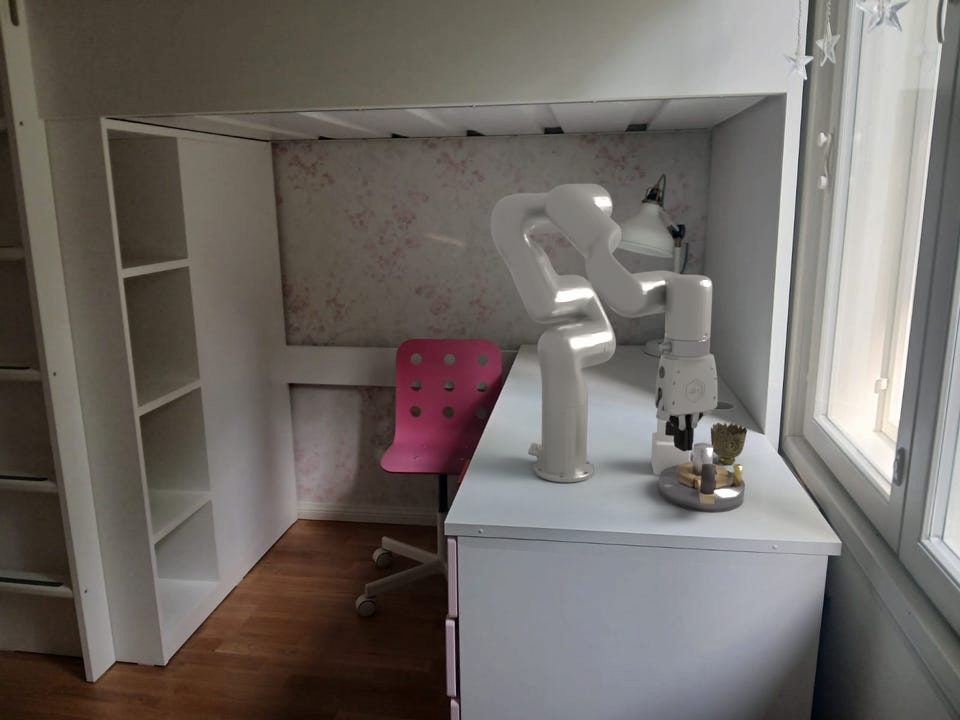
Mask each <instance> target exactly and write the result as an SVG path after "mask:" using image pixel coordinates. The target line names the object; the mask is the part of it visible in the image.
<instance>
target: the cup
mask: <svg viewBox="0 0 960 720" xmlns="http://www.w3.org/2000/svg"><path fill="white" fill-rule="evenodd" d="M747 433H748V429H747V427H743V425H738V424H736V423H735V424H733V423H732V422H731V423H730V424H729V425H728V424H727V423H726V422H724V423H723V424H722V423H720V422H717V423H716V424H715V423H713V424H712V427H710V441H711V445H712V446H713V447H714V448H713V453H715V455H716V456H717V462H718V463H720V464H723V465H726V466H727V465H734V464H735V462H736V458H738V457H739V456H740V455H741V454H742V452H743V450H744V446H745V440H746V437H747Z"/></svg>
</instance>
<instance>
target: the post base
mask: <svg viewBox="0 0 960 720" xmlns="http://www.w3.org/2000/svg"><path fill="white" fill-rule="evenodd" d="M713 448H714V447H713V446H712V443H711V444H710V443H707V442H705V443H704V442H697V443H695V444H694V443H693V456H692V461H693V469H692V474H694V475H696V476H701V472H702V465H703V464H712V463H713V459H714V451H713ZM676 466H678V465H676ZM676 466H672V467H669V468H666V469H664V470H663V471H662V472H661V473H660V475H658V476H659V478H658V494H659V496H660V497H661V498H662V499H663V500H664V501H666V502H667V503H669V504H671V505H674V506H676V507H678V508H680V509H681V508H682V509H685V510H688V511H695V512H700V513H723V512H729V511H733V510H736V509H738V508H739V507H740V506H742V505H743V503H744V501H745V489H746V485H745V481H744V480H743V477H742V475H743V465H742V464H741V463H740V464H739V463H733V469H732V470H733V471H729V470H727V472H728V475H729V478H728V484H727V485H725V486H722V487H719V488H717V489H715V488H714V495H715V500H714V504H705V503H700V499H699V494H698V489H697V488H695V486H693V487H690V486H688V485H686V484H683V483H681V482H679V481H678V480H677V478H676Z"/></svg>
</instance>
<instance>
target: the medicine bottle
mask: <svg viewBox="0 0 960 720" xmlns="http://www.w3.org/2000/svg"><path fill="white" fill-rule="evenodd" d="M656 419H657V420H656V421H657V422H656V432H652V438H651V439H652V440H651V459H650V463H651V467H652V471H653V475H654V476H659V475H660V473H661V472H662V471H663V470H664V469H666V468H669V467H672V466H676V465H679V464H682V463H685V462H688V461H689V462H691V451H688V450H687V451H684V452H683V451H681V450H680V449H678V448H676V447H675V446H674V426H672V425H671V423H670V422H669V421H662V420H660V419H658V418H656Z"/></svg>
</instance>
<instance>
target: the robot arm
mask: <svg viewBox="0 0 960 720" xmlns="http://www.w3.org/2000/svg"><path fill="white" fill-rule="evenodd" d="M613 206H614V205H613V200H612V197H611V194H610V193H609V192H608V190H607V189H606V188H604V187H603V186H601V185H600V184H597V183H565V184H561V185H557V186H555V187H553V188H552V189H551V190H550V191H548V192H523V193H521V192H519V193H513V194H509V195H507V196H505V197H503V198H500V200H498V202H496V204H495V206H494V207H493V209H492V212H491V217H490V233H491V237H492V240H493V244H494V245H495V248H496V251H498V254H499V255H500V257H501V258H502V260H503V261H504V263H505V265H506V266H507V268H508V270H509V272H510V275H511V277H512V279H513V282H514V284H515V287H516V289H517V291H518V294H519V296H520V299H521V300H522V303H523V305H524V308H525V309H526V311H527V313H528V316H529V317H530V318H531V320H533V322H535V323H538V324H541V325H543V324H545V325H546V324H547V325H548V324H552V323H559V322H565V321H568V322H569V323H565V324H559V325H556V326H552V327H550V328H549V329H547V330H546V331H545V332H543V333H542V334H541V336H540V337H539V339H538V341H537V349H536V351H537V357H538V362H539V367H540V368H539V369H540V375H541V377H540V378H541V443H540V444H539V443H536V442H532V443H531V444H530V446H529V448H528V451H527V452H528V455H529V456H533V457H534V456H535V457H536V458H537V460H536V461H535V462H534V464H533V472H534V473H535V475H536V476H538V477H539V478H542V479H544V480H545V481H546V480H547V481H550V482H554V483H555V482H556V483H576V482H582V481H585V480H588V479H589V478H590V477H592V476H593V475H594V465H593V463H591V462H590V461H588V459H587V455H588V454H587V453H588V452H587V450H588V419H589V416H588V415H589V414H588V413H589V412H588V411H589V389H588V385H587V382H586V380H585V378H584V376H583V374H582V369H585V368H588V367H593V366H595V365H600V364H603V363H606V362H608V361H609V360H610V359H611V358H612V357H613V355H614V354H615V352H616V346H617V341H616V333H615V332H614V329H613V326H612V324H611V322H610V320H609V318H608V316H607V313H606V311H605V308H604V307H603V305H602V303H601V300H602V301H603V302H604V303H605V304H606V305H607V306H608V307H609V308H610V309H611V310H612V311H614V312H615V313H616V314H618V315H620V316H622V317H624V318H633V319H634V318H639V317H644V316H645V317H646V316H648V315H656V314H661V313H665V317H664V318H665V321H664V323H665V325H664V338H663V342H662V343H658V350H659V351H660V352H663V354H661V356H660V360H659V363H658V369H657V374H656V381H655V394H654V395H655V397H654V401H655V402H654V403H655V404H654V406H655V408H656V409H657V411H656V415H655V417H656V419H660V420H662V421H669V422H670V423H671V425H672V426H674V446H675V447H676V448H678V449H680V450H681V451H683V452H684V451H687V450H688V451H690V452H691V451H693V446H694V434H695V433H694V432H695V429H696V428H697V427H698V423H699V422H700V420H701V419H702V418H703V417H706V416H709V415H710V414H712V413H713V410H715V409H716V408H717V406H718V392H719V391H718V373H717V367H716V361H715V355H714V354H712V353H710V350H711V332H712V330H711V329H712V328H711V327H712V308H713V282H712V280H711V278H710V277H708V276H706V275H703V274H702V275H700V274H682V273H677V272H674V271H669V270H652V271H643V272H636V273H631V272H629V271H628V270H627V269H626V268H625V267H624V266H623V265H622V264H621V263H620V262H619V261H618V259H617V258H616V257H614V255H613V253H614V251H616V249H617V248H618V246H619V244H620V242H621V240H622V234H623V233H622V229H621V226H619V224H618V223H617V222H616V221H614V220H613V219H612V218H611V216H612V213H613V209H614V208H613ZM557 233H560V234H561V235H563V237H565V239H567V241H568V242H570V244H571V245H572V246H573V247H574V248H575V249H576V250H577V251H578V253H580V254H581V255H582V257H584V259H585V263H584V264H585V265H584V267H585V272H586V275H587V279H586V278H585V277H583V276H581V275H579V274H564V275H559V274H558V273H557V272H556V271H555V269H554V267H553V265H552V263H551V261H550V258H549V256H548V254H547V253H546V252H545V251H544V249H543V248H542V247H541V246H540V245H539V244H538V243H537V242H536V241H534V240H533V239H532V238H531V235H543V234H557ZM599 297H600V298H599ZM600 299H601V300H600Z"/></svg>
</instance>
